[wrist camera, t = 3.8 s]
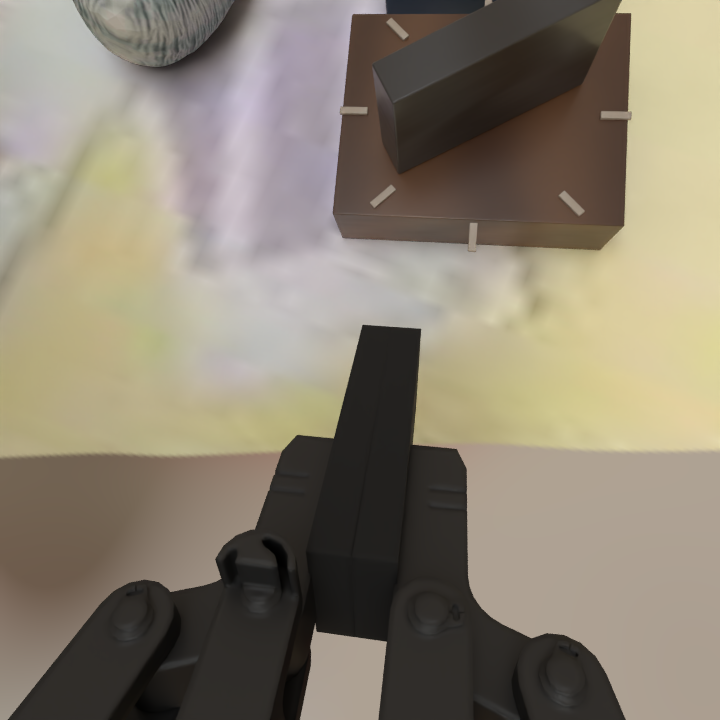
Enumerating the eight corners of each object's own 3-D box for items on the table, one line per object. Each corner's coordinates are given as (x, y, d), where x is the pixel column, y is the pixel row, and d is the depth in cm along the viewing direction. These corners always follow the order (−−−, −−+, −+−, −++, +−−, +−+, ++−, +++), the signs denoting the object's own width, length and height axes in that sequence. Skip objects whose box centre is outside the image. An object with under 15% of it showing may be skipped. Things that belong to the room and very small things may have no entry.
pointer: (398, 175, 27) (392, 100, 21) (381, 142, 27) (370, 58, 21) (583, 84, 26) (632, -20, 20) (563, 51, 27) (606, -61, 21)
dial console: (338, 265, 30) (327, 243, 27) (360, 33, 32) (352, -17, 28) (601, 279, 29) (626, 258, 25) (610, 33, 30) (636, -20, 27)
